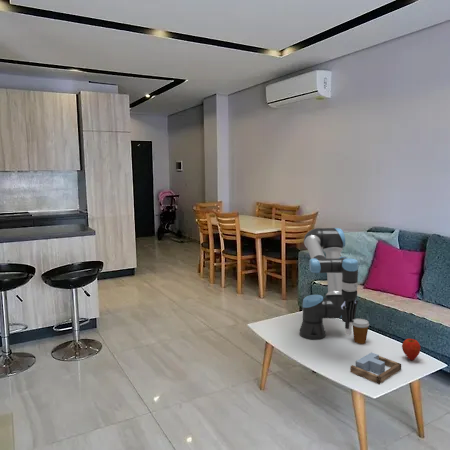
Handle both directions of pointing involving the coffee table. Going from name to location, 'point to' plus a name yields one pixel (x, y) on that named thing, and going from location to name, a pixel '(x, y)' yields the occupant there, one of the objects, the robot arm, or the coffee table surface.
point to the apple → (411, 348)
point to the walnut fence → (382, 377)
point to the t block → (371, 363)
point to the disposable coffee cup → (360, 330)
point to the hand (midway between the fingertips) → (348, 333)
